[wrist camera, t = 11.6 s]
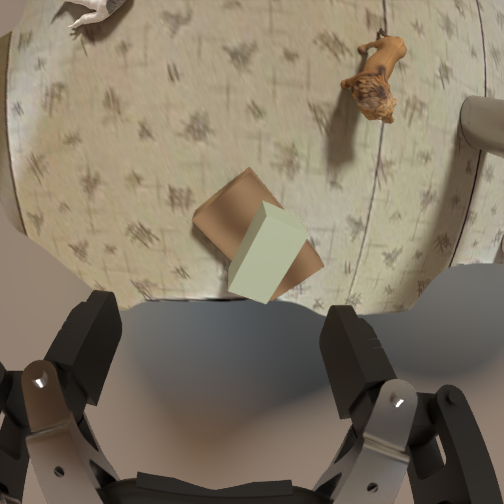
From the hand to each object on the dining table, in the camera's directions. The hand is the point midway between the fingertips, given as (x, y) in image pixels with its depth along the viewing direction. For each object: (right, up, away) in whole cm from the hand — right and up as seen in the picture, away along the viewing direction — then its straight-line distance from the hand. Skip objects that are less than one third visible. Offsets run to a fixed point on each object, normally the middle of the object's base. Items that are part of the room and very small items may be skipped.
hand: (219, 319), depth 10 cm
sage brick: (+2, +3, +25) cm, 25 cm away
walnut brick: (+2, +5, +28) cm, 29 cm away
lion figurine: (+16, +25, +18) cm, 35 cm away
